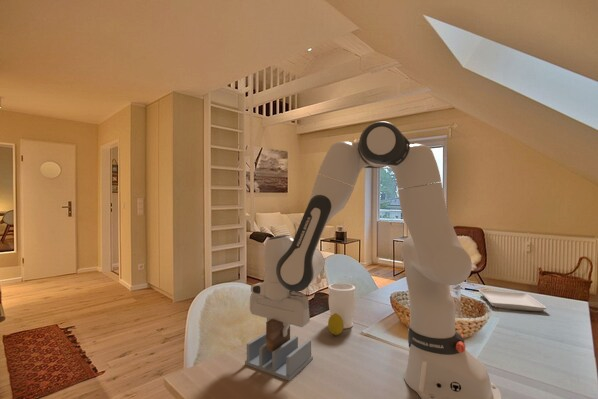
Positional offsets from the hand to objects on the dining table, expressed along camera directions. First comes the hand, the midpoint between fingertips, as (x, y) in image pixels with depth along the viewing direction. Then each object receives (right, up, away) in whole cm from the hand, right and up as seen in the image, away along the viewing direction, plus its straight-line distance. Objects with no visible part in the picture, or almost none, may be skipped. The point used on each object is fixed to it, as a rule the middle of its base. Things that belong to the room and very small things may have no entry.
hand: (278, 334), depth 91 cm
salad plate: (+104, -8, +49) cm, 116 cm away
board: (0, -3, 0) cm, 3 cm away
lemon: (+19, -9, +17) cm, 27 cm away
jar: (+23, -9, +27) cm, 37 cm away
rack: (0, -8, 0) cm, 8 cm away
